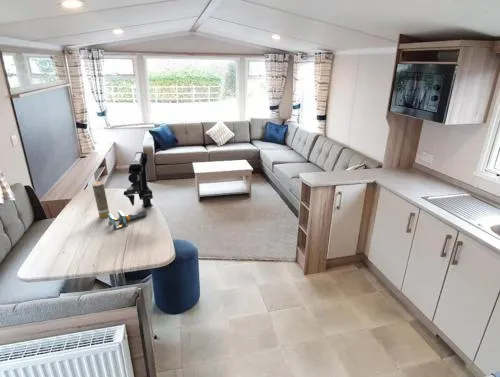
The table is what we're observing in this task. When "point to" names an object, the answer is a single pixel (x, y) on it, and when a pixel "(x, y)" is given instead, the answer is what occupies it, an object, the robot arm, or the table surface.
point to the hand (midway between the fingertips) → (138, 205)
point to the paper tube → (101, 199)
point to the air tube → (133, 216)
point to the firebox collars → (112, 220)
